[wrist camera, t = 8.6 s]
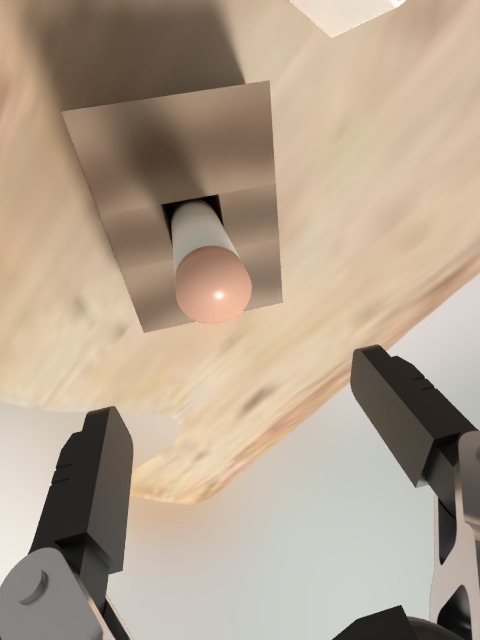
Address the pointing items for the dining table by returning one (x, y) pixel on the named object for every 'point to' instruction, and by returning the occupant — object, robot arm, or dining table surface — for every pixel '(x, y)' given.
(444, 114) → the dining table surface
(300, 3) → the jar
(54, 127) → the dining table surface
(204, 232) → the plug
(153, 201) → the socket block
